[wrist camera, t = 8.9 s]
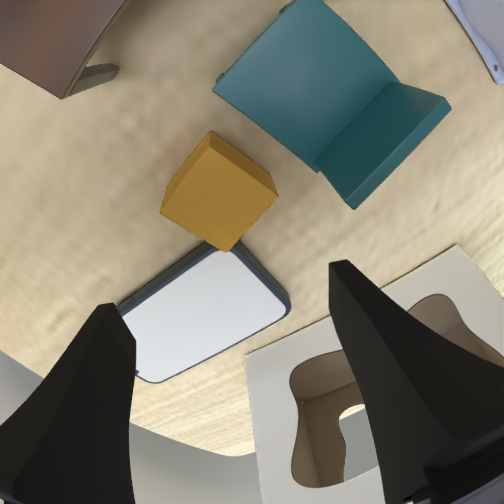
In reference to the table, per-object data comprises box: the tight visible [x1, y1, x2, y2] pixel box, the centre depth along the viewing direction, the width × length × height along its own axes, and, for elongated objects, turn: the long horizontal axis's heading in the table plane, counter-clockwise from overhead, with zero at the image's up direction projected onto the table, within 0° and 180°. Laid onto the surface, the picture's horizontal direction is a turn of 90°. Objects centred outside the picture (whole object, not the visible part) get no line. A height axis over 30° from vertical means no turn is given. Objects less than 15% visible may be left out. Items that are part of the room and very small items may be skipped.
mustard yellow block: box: [159, 131, 278, 253], centre depth 18 cm, size 4×4×3 cm
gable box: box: [244, 245, 504, 504], centre depth 18 cm, size 22×13×28 cm, turn 121°
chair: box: [212, 0, 452, 210], centre depth 12 cm, size 6×6×8 cm
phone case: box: [117, 241, 291, 384], centre depth 25 cm, size 9×2×16 cm
